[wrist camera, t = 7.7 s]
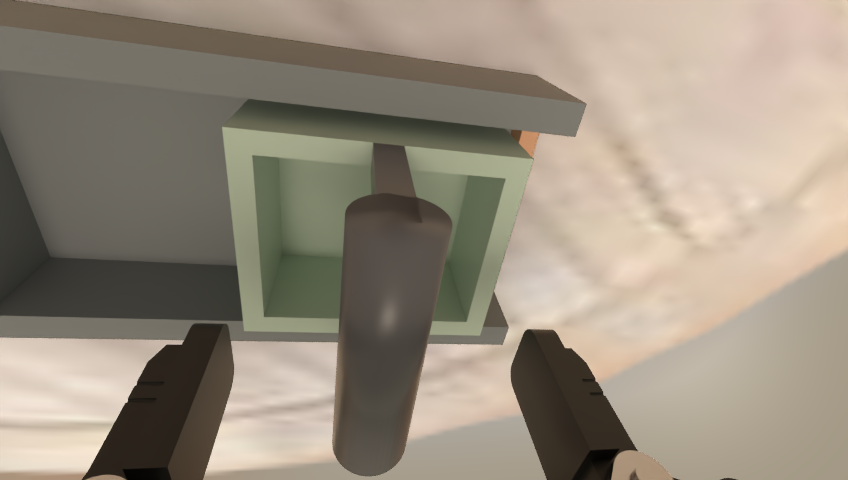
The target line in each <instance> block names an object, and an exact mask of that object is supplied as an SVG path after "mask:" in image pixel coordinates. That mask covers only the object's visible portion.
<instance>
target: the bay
mask: <svg viewBox="0 0 848 480" xmlns="http://www.w3.org/2000/svg"><path fill="white" fill-rule="evenodd" d="M248 99H255V100H264V101H272V102H281V103H289V104H298V105H306V106H315V107H324V108H332V109H341V110H349V111H358V112H366V113H375V114H384V115H392V116H401V117H409V118H418V119H426V120H435V121H443V122H452V123H461V124H469V125H478V126H486V127H495V128H503V129H506V130H507V131H508V132H509V133H510V135H511V136H512V137H513V138H514V139H515V140H516V141H517V142H518V143H519V144H520V145H521V146H522V147H523V148H524V149H525V151H526V152H527V153H528V154H529V155H530V156H531V157H532V156H533V152H534V149H535V146H536V143H537V139H538V136H539V133H546V134H555V135H563V136H572V137H575V136H576V133H577V130H578V127H579V125H580V122H581V119H582V116H583V113H584V110H585V107H586V105H587V104H586V103H584V102H582V101H581V100H579V99H577V98H575V97H574V96H572V95H570V94H568V93H567V92H565V91H563V90H561V89H559V88H558V87H556V86H554V85H552V84H551V83H549V82H547V81H545V80H543V79H542V78H540V77H538V76H535V75H528V74H521V73H514V72H507V71H500V70H494V69H487V68H480V67H473V66H466V65H459V64H452V63H445V62H438V61H431V60H424V59H417V58H410V57H403V56H396V55H389V54H382V53H376V52H369V51H362V50H355V49H348V48H341V47H334V46H327V45H320V44H313V43H306V42H299V41H292V40H285V39H278V38H271V37H264V36H258V35H251V34H244V33H237V32H230V31H223V30H216V29H209V28H202V27H195V26H188V25H181V24H174V23H167V22H160V21H153V20H146V19H140V18H133V17H126V16H119V15H112V14H105V13H98V12H91V11H84V10H77V9H70V8H63V7H56V6H49V5H42V4H35V3H28V2H22V1H15V0H0V337H10V338H79V339H148V340H185V338H186V336H187V333H188V331H189V329H190V328H191V326H192V325H193V324H194V323H216V324H227V325H228V327H229V333H230V340H231V341H286V342H338V333H312V332H259V331H244V325H243V316H242V306H241V297H240V288H239V279H238V270H237V260H236V251H235V242H234V233H233V223H232V214H231V205H230V196H229V186H228V177H227V168H226V159H225V149H224V140H223V131H222V127H223V125H224V124H225V123H226V122H227V121H228V120H229V119H230V118H231V117H232V116H233V115H234V114H235V113H236V112H237V111H238V110H239V109H240V108H241V107H242V105H243V104H244V103H245V102H246V101H247V100H248ZM508 328H509V327H508V324H507V322H506V319H505V317H504V315H503V312H502V310H501V307H500V305H499V303H498V300H497V298H496V295H495V293H494V292H493V295H492V298H491V301H490V305H489V308H488V311H487V315H486V318H485V321H484V324H483V328H482V331H481V334H480V336H474V335H429V339H428V344H492V345H503V342H504V339H505V337H506V334H507V331H508Z"/></svg>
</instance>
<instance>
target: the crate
mask: <svg viewBox="0 0 848 480" xmlns="http://www.w3.org/2000/svg"><path fill="white" fill-rule="evenodd" d="M222 131H223V140H224V149H225V159H226V168H227V177H228V186H229V196H230V205H231V214H232V223H233V233H234V242H235V251H236V260H237V270H238V279H239V288H240V297H241V306H242V316H243V325H244V331H259V332H312V333H338V350H337V368H336V386H335V404H334V421H333V439H332V445H333V451H334V454H335V456H336V458H337V460H338V461H339V463H340V464H341V465H342V466H343V467H344V468H345V469H347V470H348V471H350V472H352V473H354V474H357V475H361V476H376V475H380V474H383V473H385V472H387V471H389V470H390V469H392V468H393V467H394V466H395V465H396V464H397V463H398V462H399V461H400V459H401V457H402V455H403V453H404V450H405V446H406V441H407V437H408V432H409V427H410V423H411V418H412V413H413V409H414V404H415V400H416V395H417V390H418V386H419V381H420V376H421V372H422V367H423V362H424V358H425V353H426V348H427V344H428V339H429V335H474V336H480V334H481V331H482V328H483V324H484V321H485V318H486V315H487V311H488V308H489V305H490V301H491V298H492V295H493V292H494V288H495V285H496V282H497V278H498V275H499V272H500V269H501V265H502V262H503V259H504V255H505V252H506V249H507V246H508V242H509V239H510V236H511V232H512V229H513V226H514V222H515V219H516V216H517V213H518V209H519V206H520V203H521V199H522V196H523V193H524V190H525V186H526V183H527V180H528V176H529V173H530V170H531V167H532V163H533V160H534V159H533V158H532V157H531V156H530V155H529V154H528V153H527V152H526V151H525V149H524V148H523V147H522V146H521V145H520V144H519V143H518V142H517V141H516V140H515V139H514V138H513V137H512V136H511V135H510V133H509V132H508V131H507V130H506V129H503V128H495V127H486V126H478V125H469V124H461V123H452V122H443V121H435V120H426V119H418V118H409V117H401V116H392V115H384V114H375V113H366V112H358V111H349V110H341V109H332V108H324V107H315V106H306V105H298V104H289V103H281V102H272V101H264V100H255V99H248V100H247V101H246V102H245V103H244V104H243V105H242V107H241V108H240V109H239V110H238V111H237V112H236V113H235V114H234V115H233V116H232V117H231V118H230V119H229V120H228V121H227V122H226V123H225V124H224V125H223V127H222Z"/></svg>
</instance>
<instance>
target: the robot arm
mask: <svg viewBox="0 0 848 480" xmlns="http://www.w3.org/2000/svg"><path fill="white" fill-rule="evenodd" d="M233 375H234V362H233V355H232V347H231V340H230V333H229V327H228V325H227V324H216V323H194V324H193V325H192V326H191V328H190V329H189V331H188V333H187V336H186V338H185V340H184V342H183V344H182V345H166V346H165V347H164V348H163V349H162V350H161V351H159V352H158V353H157V354H156V355H155V356H154V357H153V358H152V359H151V360H149V361H148V363H147V365H146V366H145V368H144V370H143V372H142V374H141V376H140V377H139V379H138V381H137V385H136V386H135V387H134V388H133V390H132V392H131V394H130V396H129V398H128V402H127V403H125V405H124V407H123V409H122V410H121V412H120V414H119V416H118V418H117V419H116V421H115V423H114V425H113V427H112V429H111V430H110V432H109V434H108V436H107V438H106V440H105V441H104V443H103V445H102V447H101V449H100V451H99V452H98V454H97V456H96V458H95V460H94V461H93V463H92V465H91V467H90V469H89V470H88V472H87V473H86V475H85V476H84V477H83V479H82V480H203V478H204V474H205V471H206V468H207V465H208V462H209V458H210V455H211V452H212V449H213V445H214V442H215V439H216V436H217V433H218V429H219V426H220V423H221V420H222V417H223V413H224V410H225V407H226V404H227V401H228V397H229V394H230V391H231V387H232V382H233ZM511 382H512V386H513V389H514V392H515V395H516V397H517V400H518V403H519V406H520V408H521V411H522V414H523V416H524V419H525V422H526V424H527V427H528V430H529V432H530V435H531V438H532V440H533V443H534V446H535V449H536V451H537V454H538V457H539V459H540V462H541V465H542V468H543V470H544V473H545V476H546V478H547V480H678V479H675V478H672V477H671V475H670V474H669V473H668V471H667V470H666V469H665V468H664V467H663V466H662V465H661V464H659V462H657V461H656V460H655V459H653V458H652V457H650V456H648V455H646V454H644V453H641V452H638V451H637V449H636V447H635V446H634V444H633V442H632V441H631V439H630V437H629V436H628V434H627V432H626V431H625V429H624V427H623V425H622V424H621V422H620V420H619V419H618V417H617V415H616V413H615V412H614V410H613V408H612V407H611V405H610V403H609V401H608V400H607V398H606V396H604V395H603V391H602V389H601V388H600V386H599V384H598V382H596V381H595V377H594V375H593V374H592V372H591V370H590V369H589V367H588V365H587V363H586V362H585V361H584V360H583V359H582V358H581V357H580V356H579V355H578V354H576V353H575V352H574V351H573V350H572V349H571V348H565V347H564V346H563V344H562V342H561V340H560V338H559V336H558V335H557V333H556V332H555V331H554V330H533V329H528V330H526V331H525V332H524V334H523V337H522V339H521V342H520V345H519V347H518V350H517V352H516V355H515V358H514V360H513V363H512V366H511ZM721 480H736V479H731V478H724V479H721Z"/></svg>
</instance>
